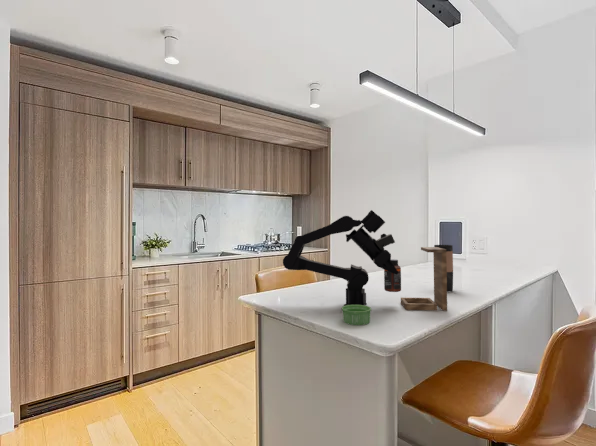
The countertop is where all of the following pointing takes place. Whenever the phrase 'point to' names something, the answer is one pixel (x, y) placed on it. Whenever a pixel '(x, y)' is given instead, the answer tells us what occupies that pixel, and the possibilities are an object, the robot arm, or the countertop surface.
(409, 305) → the stand
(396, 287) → the supplement bottle
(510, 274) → the countertop surface
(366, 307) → the ramekin
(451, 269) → the travel mug
